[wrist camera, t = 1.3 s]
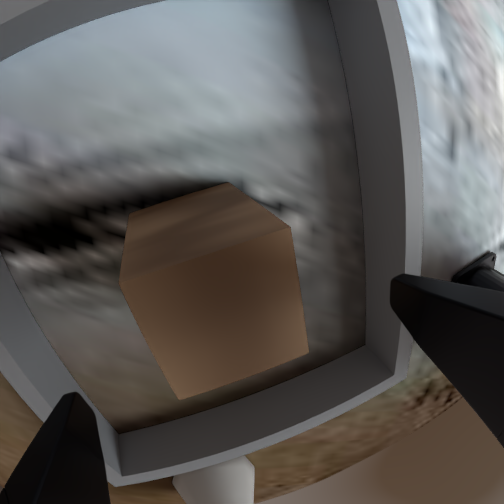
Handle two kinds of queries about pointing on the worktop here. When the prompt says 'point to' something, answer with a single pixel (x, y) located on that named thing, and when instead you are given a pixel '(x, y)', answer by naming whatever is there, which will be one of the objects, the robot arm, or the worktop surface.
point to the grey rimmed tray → (376, 261)
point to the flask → (218, 483)
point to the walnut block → (213, 288)
